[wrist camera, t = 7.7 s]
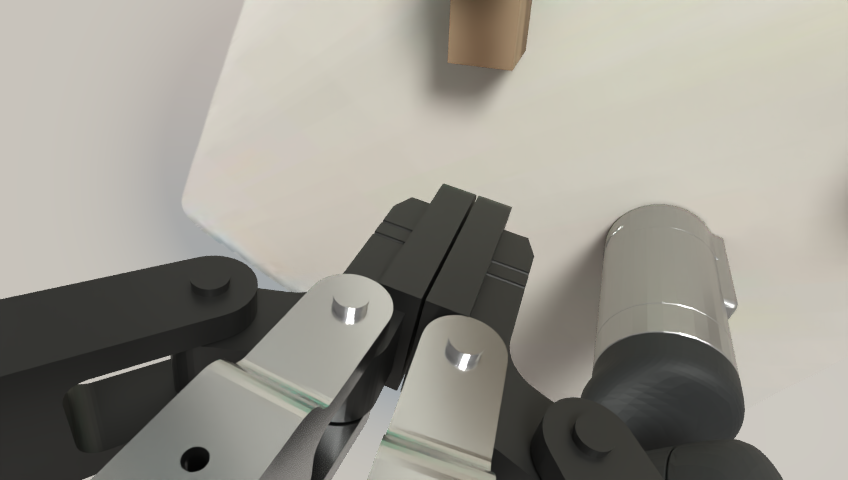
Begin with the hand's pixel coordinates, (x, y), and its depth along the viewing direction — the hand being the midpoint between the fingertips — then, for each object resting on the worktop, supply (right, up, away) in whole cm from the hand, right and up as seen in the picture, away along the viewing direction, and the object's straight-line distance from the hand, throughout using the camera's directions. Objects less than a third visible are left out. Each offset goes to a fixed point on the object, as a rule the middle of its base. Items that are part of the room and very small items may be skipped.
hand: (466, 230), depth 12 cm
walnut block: (+5, +18, +33) cm, 38 cm away
